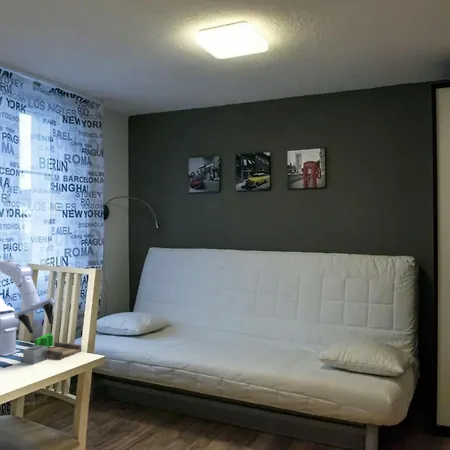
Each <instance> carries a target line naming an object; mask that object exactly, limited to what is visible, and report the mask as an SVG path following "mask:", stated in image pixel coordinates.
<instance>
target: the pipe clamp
mask: <svg viewBox="0 0 450 450" xmlns="http://www.w3.org/2000/svg"><path fill="white" fill-rule="evenodd" d="M36 345H39V346H46V347H48V348H49V347H53V346H54V335H52V334H51V333H49V332H47V333H46V334H43V335H42V336H39V337H38V338H35V339H34V346H36Z"/></svg>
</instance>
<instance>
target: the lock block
mask: <svg viewBox="0 0 450 450" xmlns="http://www.w3.org/2000/svg"><path fill="white" fill-rule="evenodd" d="M48 348H49V346H48V347H46V346H39V345H36V346H35V345H34V346H30V347H28V348H24V349H23V352H22V353H23V354H22V358H23V359H22V363H23V364H29V365H36V364H38V363H41V362H44V361H47V360H48V358H47V349H48Z"/></svg>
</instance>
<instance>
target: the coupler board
mask: <svg viewBox="0 0 450 450" xmlns="http://www.w3.org/2000/svg"><path fill="white" fill-rule="evenodd" d="M79 353H82V344H78V343H70V342H69V343H68V342H61V341H54V343H53V346H49V347H48V349H47V359H51V360H52V359H53V360H58V361H60V360H62V359H65V357H66V358H68V357H71V356H72V355H76V354H79Z"/></svg>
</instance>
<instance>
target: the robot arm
mask: <svg viewBox="0 0 450 450" xmlns="http://www.w3.org/2000/svg"><path fill="white" fill-rule="evenodd" d="M0 272H1V274H4V275H6V276H8V277H9V278H10V279H11V281H12V282H13V283H14V284H15V286H16V287H17V289H18V292H19V294H20V297H21V299H22V302H23V304H24V308H23V309H20V310H18V311H17V310H15V309H14V308H13V306H9V305H7V304H6V303H5V301H4V299H3V298H2V296H1V295H0V356H2V357H7V356H10V355H13V354H17V353H19V352H21V351H22V349H21V350H20V349H17V348H16V343H17V341H16V340H17V339H16V338H17V330H18V327H19V326H20V325H21V323H22V324H23V325H24V326H25V327H26V328H27V330H28V332H29V333H30V334H34V330H33V328H32V325H31V322H30V319H29V318H30V317H29V314H31V313H34V312H36V311H38V310H40V309H43V310H44V312H45V314H46V317H47V320H48V324H49V325H50V326H51V325H53V324H54V321H53V320H54V319H53V310H54V305H53V304H55V301H54V299H53V297H49V298H47V299H44V300H41V299H40V296H39V293H38V291H37V287H36V286H35V282H34V280H33V278H34V277H33V276H34V270H33V268H32V267H31V266H30V265H22V264H21V263H20V262H19V263H17V262H15V261H14V259H12V258H8V259H3V258H1V257H0Z"/></svg>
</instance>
